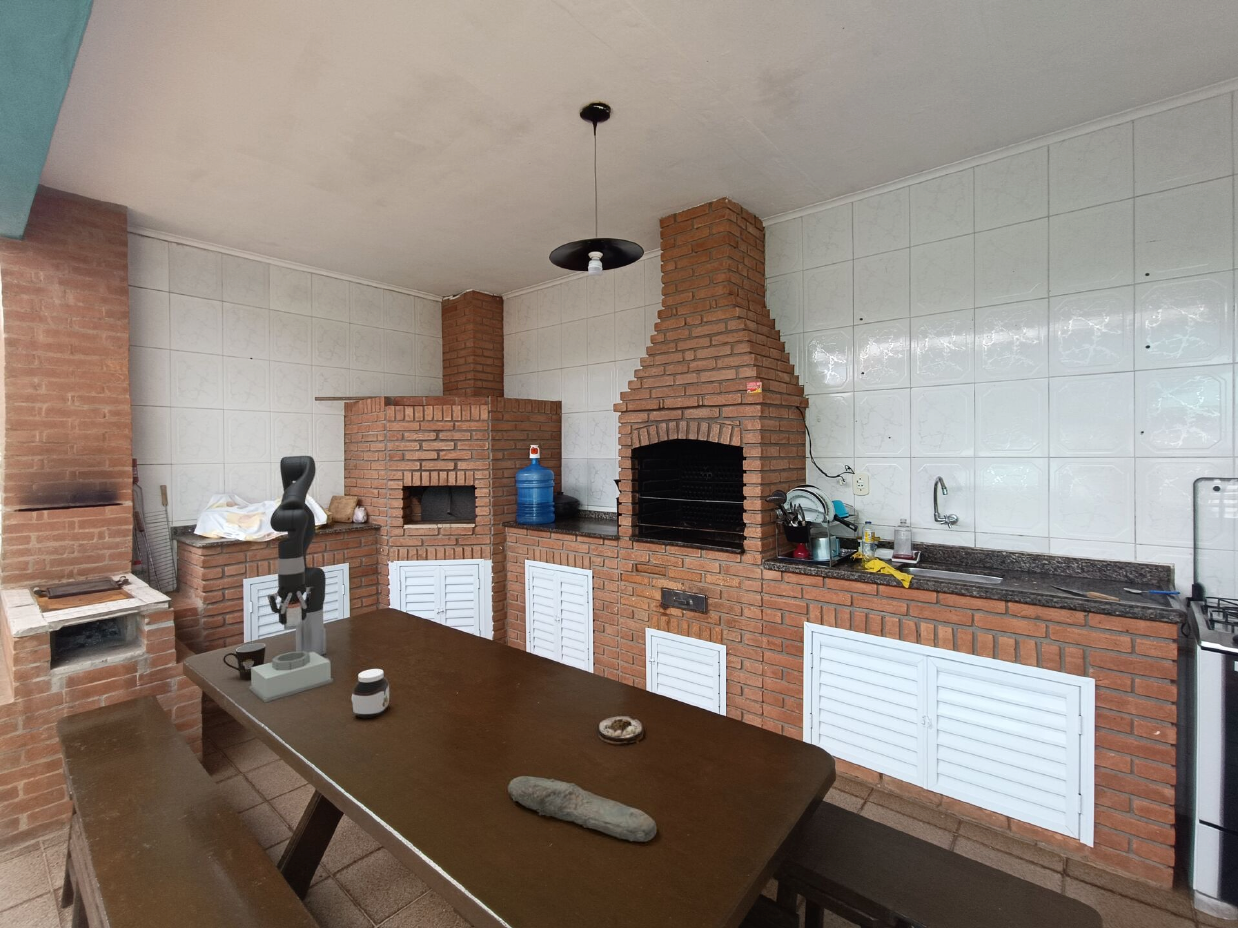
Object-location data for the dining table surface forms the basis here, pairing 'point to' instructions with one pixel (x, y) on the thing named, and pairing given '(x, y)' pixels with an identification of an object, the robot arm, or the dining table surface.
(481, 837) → the dining table surface
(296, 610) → the spout can
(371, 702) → the spread jar
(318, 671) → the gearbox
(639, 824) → the long grey stone
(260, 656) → the coffee mug
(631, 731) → the sushi roll
